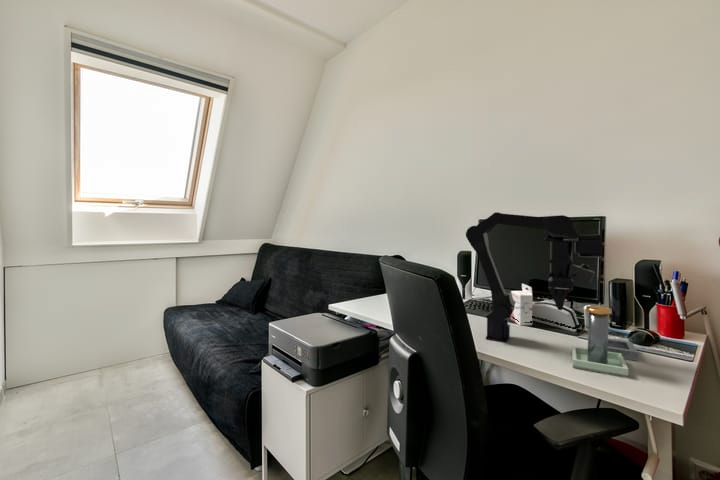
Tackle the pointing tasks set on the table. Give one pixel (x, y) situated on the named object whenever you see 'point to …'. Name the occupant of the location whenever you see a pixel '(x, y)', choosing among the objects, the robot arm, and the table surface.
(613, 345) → the frame
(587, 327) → the milkshake
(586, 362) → the tray
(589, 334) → the grey and gold cylinder
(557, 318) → the grey arched block
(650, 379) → the table surface
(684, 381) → the table surface
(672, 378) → the table surface
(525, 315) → the ink cartridge box
